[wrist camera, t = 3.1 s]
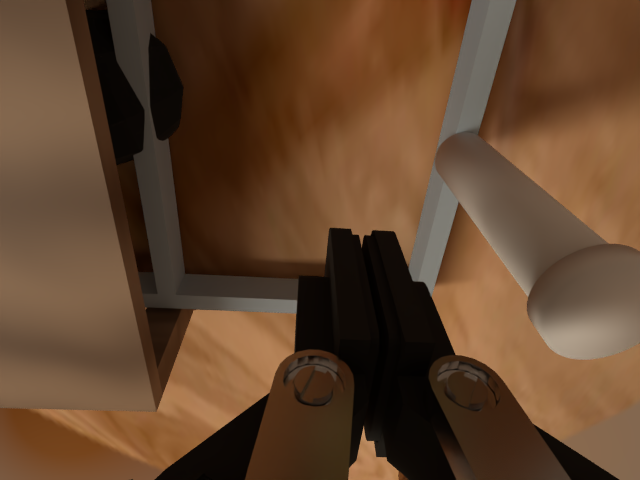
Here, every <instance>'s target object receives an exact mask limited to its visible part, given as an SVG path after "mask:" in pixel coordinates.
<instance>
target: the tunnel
mask: <svg viewBox="0 0 640 480" xmlns="http://www.w3.org/2000/svg"><path fill="white" fill-rule="evenodd" d="M192 313H193V309H176V308H151V307H147V309H145V304H144V300H143V295H142V290H141V285H140V280H139V275H138V270H137V265H136V260H135V255H134V250H133V245H132V240H131V235H130V230H129V225H128V220H127V215H126V210H125V205H124V200H123V195H122V190H121V185H120V180H119V175H118V170H117V165H116V160H115V155H114V150H113V145H112V141H111V136H110V131H109V126H108V121H107V116H106V111H105V106H104V101H103V96H102V91H101V86H100V81H99V76H98V71H97V66H96V61H95V56H94V51H93V46H92V41H91V36H90V31H89V26H88V21H87V16H86V11H85V6H84V1H83V0H0V408H27V409H67V410H106V411H146V412H157V409H158V406H159V403H160V401H161V398H162V395H163V392H164V390H165V387H166V384H167V382H168V379H169V376H170V373H171V371H172V368H173V365H174V362H175V360H176V357H177V354H178V351H179V349H180V346H181V343H182V340H183V338H184V335H185V332H186V329H187V327H188V324H189V321H190V318H191V316H192Z"/></svg>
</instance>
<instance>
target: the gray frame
mask: <svg viewBox="0 0 640 480" xmlns="http://www.w3.org/2000/svg"><path fill="white" fill-rule="evenodd" d="M106 3H107V9H108V15H109V20H110V26H111V32H112V37H113V43H114V49H115V54H116V60H117V62H118V64H119V66H120V68H121V69H122V71H123V73H124V75H125V76H126V78H127V80H128V82H129V83H130V85H131V87H132V89H133V90H134V92H135V94H136V96H137V97H138V99H139V101H140V103H141V104H142V106H143V108H144V109H145V123H144V144H143V150H142V152H140V153H137V154H135V155H133V157H134V163H135V168H136V174H137V180H138V185H139V191H140V197H141V202H142V208H143V214H144V219H145V225H146V231H147V237H148V242H149V248H150V254H151V259H152V265H153V271H154V272H138V275H139V280H140V285H141V290H142V295H143V300H144V304H145V307H151V308H176V309H200V310H225V311H249V312H274V313H296V311H297V294H298V279H287V278H266V277H244V276H222V275H200V274H185V268H184V260H183V252H182V244H181V236H180V228H179V220H178V212H177V204H176V196H175V188H174V180H173V172H172V164H171V156H170V148H169V140H168V138H167V139H166V140H164V141H161V140H158V139H157V137H156V132H155V128H154V123H153V119H152V114H151V109H150V89H149V55H148V46H149V39H150V33H151V34H152V35H154V36H155V28H154V20H153V12H152V4H151V0H106ZM515 3H516V0H472V2H471V7H470V11H469V15H468V19H467V24H466V28H465V32H464V36H463V40H462V45H461V49H460V53H459V57H458V62H457V66H456V70H455V74H454V79H453V83H452V87H451V91H450V95H449V100H448V104H447V108H446V112H445V117H444V121H443V125H442V129H441V134H440V138H439V142H438V146H437V150H436V155H435V159H434V163H433V167H432V172H431V176H430V180H429V184H428V189H427V193H426V197H425V201H424V205H423V210H422V214H421V218H420V222H419V227H418V231H417V235H416V239H415V244H414V248H413V252H412V256H411V260H410V265H409V272H410V274H411V277H412V280H413V281H419V282H424V283H425V284H426V285H427V287H428V290H429V292H430V294H431V297H432V293H433V290H434V286H435V283H436V279H437V276H438V272H439V269H440V265H441V262H442V258H443V255H444V251H445V248H446V244H447V241H448V237H449V234H450V230H451V227H452V223H453V220H454V216H455V213H456V209H457V206H458V202H459V203H460V204H461V205H462V207H463V208H464V209H465V211H466V212H467V214H468V215H469V216H470V218H471V219H472V220H473V222H474V223H475V225H476V226H477V227H478V229H479V230H480V231H481V233H482V234H483V236H484V237H485V238H486V240H487V241H488V242H489V244H490V245H491V247H492V248H493V249H494V251H495V252H496V254H497V255H498V256H499V258H500V259H501V260H502V262H503V263H504V265H505V266H506V267H507V269H508V270H509V271H510V273H511V274H512V276H513V277H514V278H515V280H516V281H517V282H518V284H519V285H520V287H521V288H522V289H523V291H524V292H525V293H526V295H527V296H528V301H527V312H528V316H529V319H530V320H531V322H532V323H533V325H534V326H535V328H536V329H537V331H538V332H539V334H540V335H541V337H542V338H543V340H544V341H545V343H546V344H547V345H548V347H549V348H550V349H551V350H553V351H554V352H555V353H557V354H559V355H561V356H564V357H567V358H572V359H581V360H582V359H597V358H603V357H607V356H611V355H614V354H617V353H620V352H623V351H625V350H627V349H629V348H631V347H633V346H635V345H637V344H639V343H640V252H639V251H638V250H636V249H634V248H632V247H629V246H626V245H620V244H608V243H607V242H606V241H605V240H604V239H602V238H601V237H600V236H599V235H597V234H596V233H595V232H594V231H593V230H591V229H590V228H589V227H588V226H587V225H585V224H584V223H583V222H582V221H581V220H579V219H578V218H577V217H576V216H575V215H573V214H572V213H571V212H570V211H569V210H567V209H566V208H565V207H564V206H563V205H561V204H560V203H559V202H558V201H557V200H555V199H554V198H553V197H552V196H551V195H549V194H548V193H547V192H546V191H545V190H543V189H542V188H541V187H540V186H538V185H537V184H536V183H535V182H534V181H532V180H531V179H530V178H529V177H528V176H526V175H525V174H524V173H523V172H522V171H520V170H519V169H518V168H517V167H516V166H514V165H513V164H512V163H511V162H510V161H508V160H507V159H506V158H505V157H504V156H502V155H501V154H500V153H499V152H498V151H496V150H495V149H494V148H493V147H492V146H490V145H489V144H488V143H487V142H486V141H484V140H483V139H482V138H481V137H479V136H478V133H479V129H480V126H481V122H482V119H483V115H484V112H485V108H486V105H487V101H488V98H489V94H490V91H491V87H492V84H493V80H494V77H495V73H496V70H497V66H498V63H499V59H500V56H501V52H502V49H503V45H504V42H505V38H506V35H507V31H508V28H509V24H510V21H511V17H512V14H513V10H514V7H515ZM155 37H156V36H155Z"/></svg>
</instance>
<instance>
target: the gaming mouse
mask: <svg viewBox="0 0 640 480" xmlns="http://www.w3.org/2000/svg"><path fill="white" fill-rule="evenodd" d="M85 11H86V16H87V21H88V26H89V31H90V36H91V41H92V46H93V51H94V56H95V61H96V66H97V71H98V76H99V81H100V86H101V91H102V96H103V101H104V106H105V111H106V116H107V121H108V126H109V131H110V136H111V141H112V145H113V150H114V155H115V160H116V165H118V164H121V163H125V162H128V161H131V160H134V157H133V155H135V154H137V153H140V152H142V150H143V144H144V123H145V109H144V108H143V106H142V104H141V103H140V101H139V99H138V97H137V96H136V94H135V92H134V90H133V89H132V87H131V85H130V83H129V82H128V80H127V78H126V76H125V75H124V73H123V71H122V69H121V68H120V66H119V64H118V62H117V60H116V54H115V49H114V43H113V37H112V32H111V26H110V20H109V15H108V10H98V11H94V10H85ZM148 55H149V89H150V109H151V114H152V119H153V123H154V128H155V132H156V137H157V139H158V140H161V141H164V140H166V139H167V138H169V137H170V136H171V135H172V134H173V133H174V132H175V130H176V129H177V128H178V127H179V123H180V119H181V108H182V96H183V85H182V82H181V80H180V78H179V76H178V73H177V71H176V69H175V66H174V64H173V62H172V59H171V57H170V55H169V53H168V50H167V48H166V46H165V45H164V44H163V43H162V42H161V41H159V40H158V39H157V38H156V37H155V36H154V35H152V34H151V33H150V39H149V46H148Z"/></svg>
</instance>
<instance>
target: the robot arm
mask: <svg viewBox="0 0 640 480" xmlns="http://www.w3.org/2000/svg"><path fill="white" fill-rule="evenodd" d="M363 426H364V429H365V436H366V440H367V441H374V444H375V450H376V457H387V461H388V462H389V463H390V464H391V465H393V466H394V467H395V468H396V469H397V470H398V471H399V474H398V477H399V480H619V479H617V478H616V477H614V476H613V475H611V474H610V473H608V472H607V471H605V470H604V469H602V468H600V467H599V466H597V465H596V464H594V463H593V462H591V461H590V460H588V459H587V458H585V457H583V456H582V455H580V454H579V453H577V452H576V451H574V450H573V449H571V448H569V447H568V446H566V445H565V444H563V443H562V442H560V441H559V440H557V439H556V438H554V437H553V436H551V435H549V434H548V433H546V432H545V431H543V430H542V429H540V428H539V427H537V426H536V425H534V424H532V422H531V421H530V419H529V418H528V416H527V415H526V413H525V412H524V410H523V409H522V407H521V406H520V405H519V403H518V402H517V400H516V399H515V397H514V396H513V394H512V393H511V391H510V390H509V389H508V387H507V386H506V384H505V383H504V381H503V380H502V379H501V378H500V377H499V376H498V374H497V373H496V372H495V371H493V370H492V369H491V368H489V367H488V366H487V365H485V364H483V363H481V362H479V361H477V360H475V359H473V358H469V357H465V356H460V355H455V353H454V350H453V348H452V345H451V343H450V340H449V338H448V336H447V333H446V331H445V328H444V326H443V324H442V321H441V319H440V316H439V314H438V311H437V309H436V307H435V304H434V302H433V299H432V297H431V294H430V292H429V290H428V287H427V285H426V284H425V283H424V282H419V281H413V280H412V277H411V274H410V272H409V269H408V266H407V264H406V261H405V258H404V256H403V253H402V250H401V247H400V245H399V242H398V239H397V237H396V234H395V232H393V231H377V230H373V231H372V233H371V236H369V235H365V236H364V238H363V244H362V248H361V243H360V238H359V235H352V231H351V229H341V228H330V229H329V236H328V246H327V256H326V266H325V276H324V277H319V276H299V278H298V294H297V311H296V331H295V352H294V354H292V355H290V356H288V357H287V358H286V359H285V360H284V361H283V362H282V363H280V365H279V367H278V369H277V371H276V373H275V376H274V380H273V383H272V387H271V390H270V393H269V394H267V395H266V396H264V397H263V398H262V399H260V400H259V401H258V402H256V403H255V404H254V405H252V406H251V407H250V408H248V409H247V410H245V411H244V412H243V413H241V414H240V415H239V416H237V417H236V418H235V419H233V420H232V421H231V422H229V423H228V424H226V425H225V426H224V427H222V428H221V429H220V430H218V431H217V432H216V433H214V434H213V435H212V436H210V437H209V438H207V439H206V440H205V441H203V442H202V443H201V444H199V445H198V446H197V447H195V448H194V449H193V450H191V451H190V452H189V453H187V454H186V455H184V456H183V457H182V458H180V459H179V460H178V461H176V462H175V463H174V464H172V465H171V466H170V467H168V468H167V469H166V470H165V471H163V472H162V473H161V474H160V475H159V476H158V477H157V478H156V479H155V480H348V474H349V467H350V466H351V465H352V464H353V463H354V462H355V461H356V459H357V454H358V450H359V445H360V440H361V435H362V431H363ZM131 480H133V479H131Z"/></svg>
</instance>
